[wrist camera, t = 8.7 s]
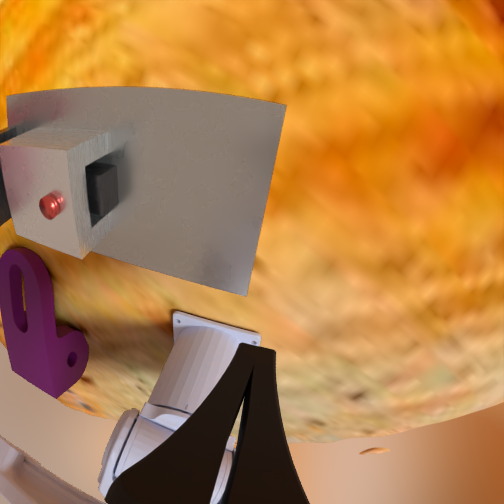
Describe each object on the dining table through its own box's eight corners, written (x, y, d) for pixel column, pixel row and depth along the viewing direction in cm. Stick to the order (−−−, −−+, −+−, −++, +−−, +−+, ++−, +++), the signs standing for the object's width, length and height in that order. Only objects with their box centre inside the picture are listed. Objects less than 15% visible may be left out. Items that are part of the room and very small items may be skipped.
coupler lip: (247, 293, 23) (233, 336, 19) (27, 226, 24) (0, 249, 21) (286, 105, 15) (277, 115, 11) (9, 95, 16) (-28, 108, 13)
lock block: (112, 228, 21) (77, 264, 18) (46, 210, 22) (11, 238, 18) (108, 131, 17) (59, 154, 13) (36, 127, 17) (-8, 147, 14)
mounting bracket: (40, 235, 33) (46, 348, 36) (-4, 242, 25) (11, 369, 28) (87, 247, 32) (90, 370, 35) (40, 258, 24) (56, 399, 27)
